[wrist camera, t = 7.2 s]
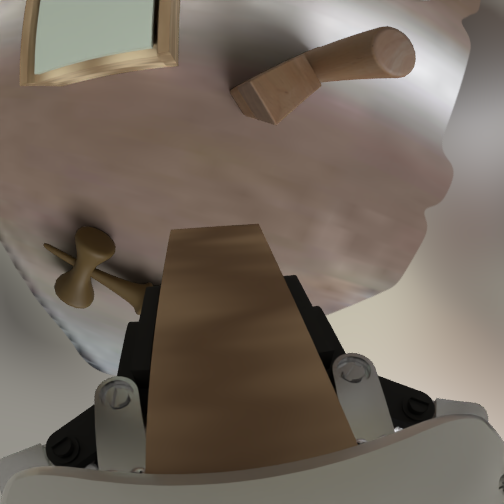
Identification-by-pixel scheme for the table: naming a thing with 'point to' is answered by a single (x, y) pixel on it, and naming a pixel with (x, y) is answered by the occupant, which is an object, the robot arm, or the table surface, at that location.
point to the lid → (90, 30)
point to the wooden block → (324, 72)
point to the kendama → (93, 272)
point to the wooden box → (108, 65)
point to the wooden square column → (234, 362)
